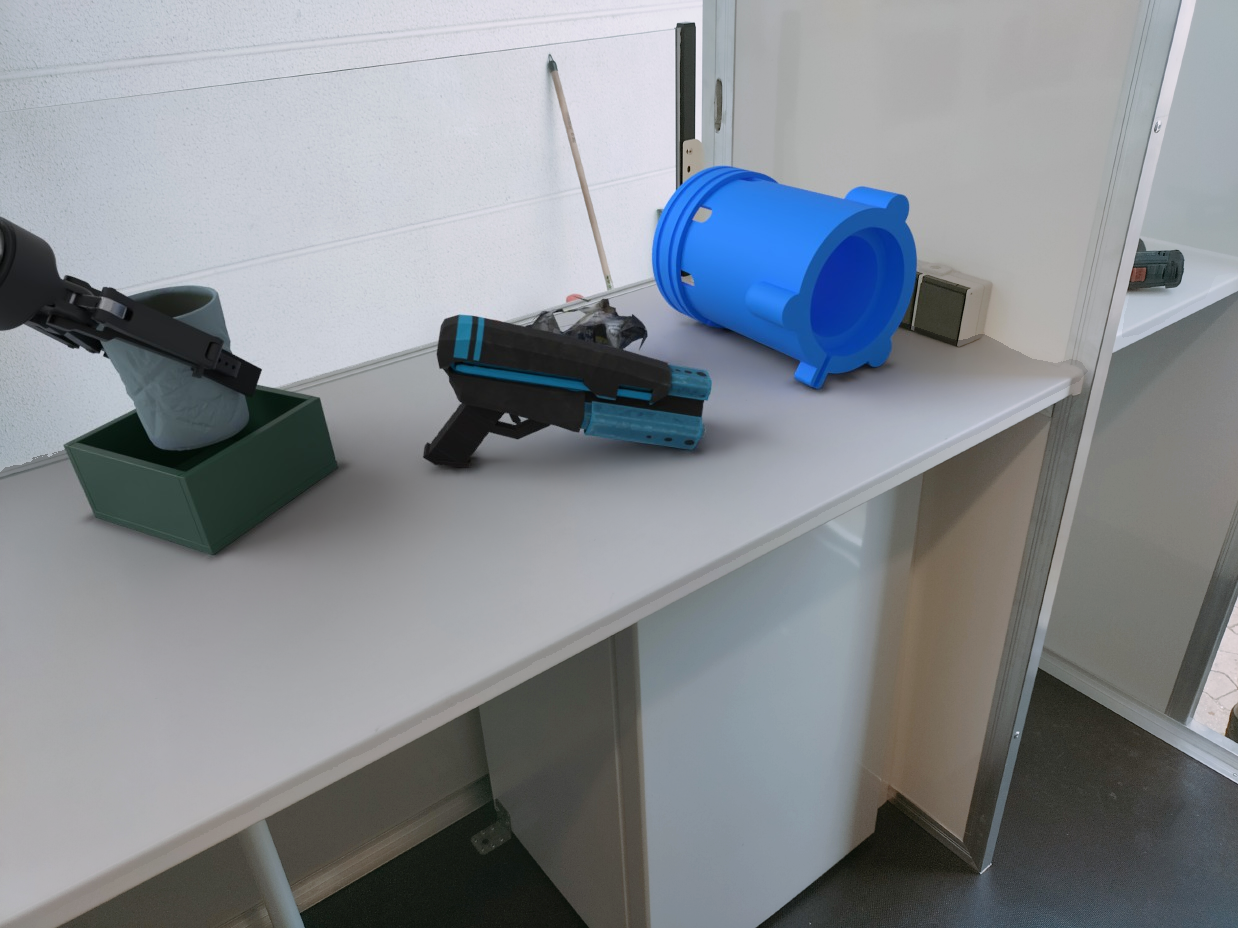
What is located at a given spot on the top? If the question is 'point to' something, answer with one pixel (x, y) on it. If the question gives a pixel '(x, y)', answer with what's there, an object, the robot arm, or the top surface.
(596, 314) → the foil
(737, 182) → the tube
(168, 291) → the grey-blue textured cup
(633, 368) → the gun
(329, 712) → the top surface
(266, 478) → the open box
